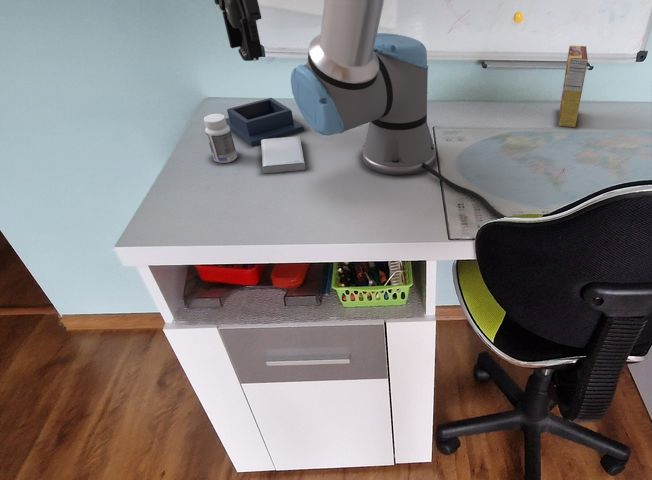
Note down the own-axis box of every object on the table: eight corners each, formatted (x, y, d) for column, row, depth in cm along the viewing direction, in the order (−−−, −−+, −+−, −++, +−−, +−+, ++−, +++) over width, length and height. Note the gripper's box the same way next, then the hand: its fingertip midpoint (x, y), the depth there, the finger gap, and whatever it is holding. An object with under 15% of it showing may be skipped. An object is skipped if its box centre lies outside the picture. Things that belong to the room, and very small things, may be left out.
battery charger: (234, 52, 113) (220, -11, 105) (253, 50, 114) (240, -13, 106) (240, 63, 109) (226, -2, 101) (259, 61, 110) (246, -4, 102)
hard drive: (304, 162, 108) (299, 135, 116) (262, 166, 106) (260, 138, 115) (305, 170, 109) (300, 142, 118) (264, 174, 108) (262, 146, 116)
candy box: (557, 111, 135) (569, 44, 124) (574, 112, 135) (588, 45, 124) (557, 126, 129) (569, 56, 118) (575, 127, 128) (589, 58, 117)
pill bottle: (242, 155, 113) (232, 115, 107) (228, 165, 109) (217, 124, 103) (222, 151, 114) (211, 110, 108) (208, 160, 110) (196, 120, 104)
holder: (304, 130, 122) (301, 112, 119) (251, 146, 116) (247, 127, 113) (273, 110, 129) (269, 93, 126) (221, 124, 123) (217, 106, 120)
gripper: (263, -84, 91) (287, 62, 108) (210, -100, 101) (240, 35, 118) (222, -81, 88) (253, 69, 104) (171, -98, 98) (207, 42, 114)
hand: (246, 51), depth 111 cm, fingers closed on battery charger, 7 cm apart
